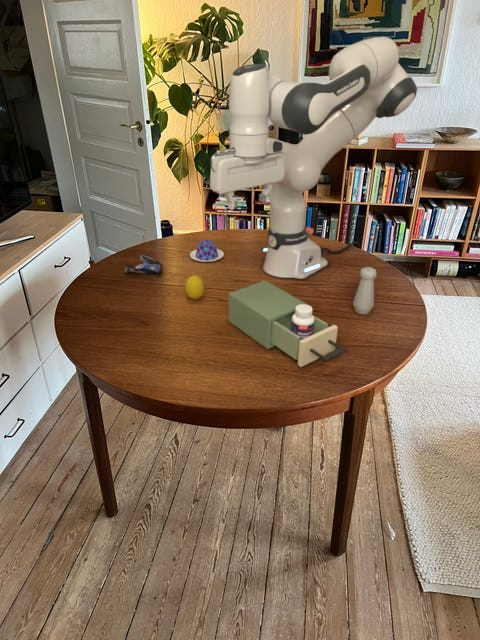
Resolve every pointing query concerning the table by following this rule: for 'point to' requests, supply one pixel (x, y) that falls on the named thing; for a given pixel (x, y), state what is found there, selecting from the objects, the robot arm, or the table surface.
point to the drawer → (306, 341)
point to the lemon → (194, 287)
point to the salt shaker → (365, 291)
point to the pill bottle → (303, 321)
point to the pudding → (206, 252)
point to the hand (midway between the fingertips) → (248, 205)
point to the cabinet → (260, 309)
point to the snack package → (145, 266)
